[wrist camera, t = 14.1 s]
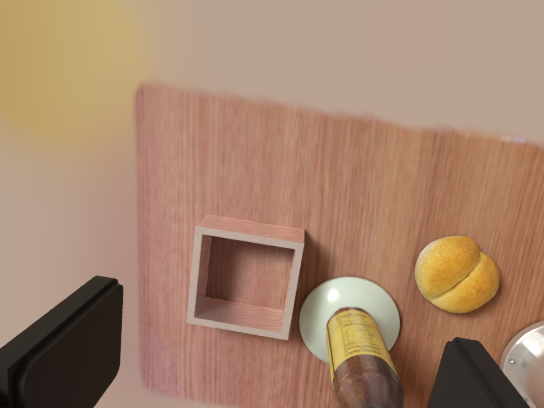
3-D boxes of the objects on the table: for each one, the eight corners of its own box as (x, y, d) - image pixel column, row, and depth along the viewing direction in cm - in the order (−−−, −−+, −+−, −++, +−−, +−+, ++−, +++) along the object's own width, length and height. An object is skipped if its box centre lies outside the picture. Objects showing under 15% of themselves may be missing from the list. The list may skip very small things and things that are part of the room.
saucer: (408, 284, 44) (410, 287, 43) (386, 371, 47) (387, 375, 46) (307, 268, 44) (307, 271, 43) (292, 354, 47) (292, 358, 46)
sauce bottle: (364, 356, 45) (409, 531, 26) (316, 338, 45) (327, 500, 26) (386, 311, 44) (452, 463, 25) (337, 293, 44) (364, 430, 25)
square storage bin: (304, 229, 43) (304, 243, 38) (289, 316, 46) (287, 340, 41) (207, 213, 44) (195, 225, 39) (198, 301, 47) (186, 322, 42)
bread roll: (451, 220, 42) (467, 230, 38) (503, 273, 43) (523, 288, 39) (395, 267, 44) (404, 282, 40) (446, 317, 44) (460, 336, 41)
